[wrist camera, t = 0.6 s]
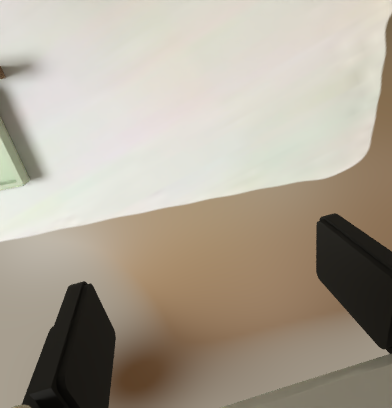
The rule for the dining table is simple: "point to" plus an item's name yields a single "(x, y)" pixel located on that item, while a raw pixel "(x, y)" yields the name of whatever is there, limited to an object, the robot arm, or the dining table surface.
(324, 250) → the robot arm
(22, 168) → the tray
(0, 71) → the board
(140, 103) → the dining table surface
